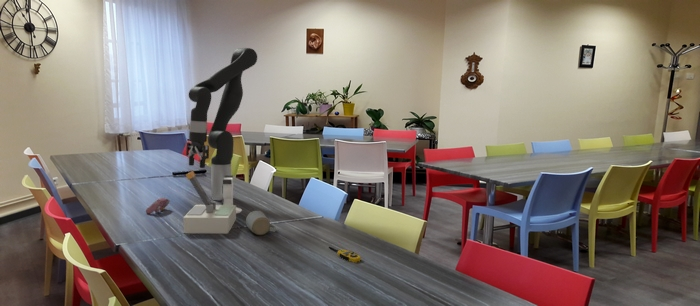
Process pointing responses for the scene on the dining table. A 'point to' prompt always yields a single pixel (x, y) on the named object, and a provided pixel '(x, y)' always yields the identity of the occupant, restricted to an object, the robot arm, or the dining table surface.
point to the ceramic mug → (259, 223)
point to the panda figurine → (228, 192)
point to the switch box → (210, 218)
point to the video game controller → (158, 205)
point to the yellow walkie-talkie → (347, 255)
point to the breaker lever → (199, 188)
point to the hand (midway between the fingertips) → (196, 166)
